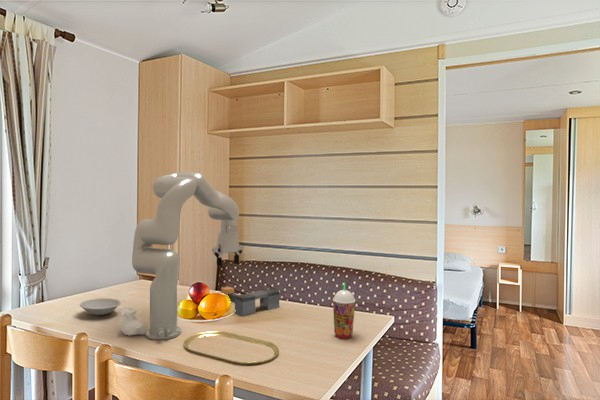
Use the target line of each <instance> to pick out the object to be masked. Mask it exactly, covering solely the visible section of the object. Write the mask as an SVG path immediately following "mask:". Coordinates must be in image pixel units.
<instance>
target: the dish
mask: <svg viewBox="0 0 600 400" xmlns="http://www.w3.org/2000/svg"><path fill="white" fill-rule="evenodd" d="M121 303H122V302H121V301H120V300H119V299H116V298H107V297H105V298H102V297H100V298H92V299H87V300H84V301H82V302H80V303H79V307H80V308H81V309H83V310H84V311H86V312H87V313H88V314H91V315H98V316H103V315H107V314H110V313H112V312H113V311H115V309H117V307H119V306H120V305H121Z"/></svg>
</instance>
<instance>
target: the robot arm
mask: <svg viewBox="0 0 600 400" xmlns="http://www.w3.org/2000/svg"><path fill="white" fill-rule="evenodd" d="M152 192H153V194H154V195H155V196H156V197H157V198H158V199H160V200H159V202H158V204H157V208H156V215H155V218H146V219H145V218H144V219H143V220H140V221H139V223H137V226H136V228H135V230H134V237H133V243H132V244H133V245H132V255H131V265H132V268H133V270H134V271H135V272H137V273H140V274H147V275H155V276H154V278H153V280H152V281H151V283H150V287H149V328H148V329H147V330H145V333H144V335H145V337H146V338H147V339H148V340H149V339H150V340H155V341H156V340H158V341H160V340H161V341H162V340H164V341H165V340H170V339H172V338H176V337H178V336H180V335H181V334H182V328H181V327H180V326H178V311H177V310H178V275H179V270H180V263H181V258H180V255H179V254H178V253H177V252H176V251H175V250H173V249H170V248H169V249H168V248H160V247H158V248H155V247H153V246H154V245H156V246H157V245H159V246H171V245H174V244H175V243H176V242H177V241H178V238H179V232H180V231H179V229H180V222H181V221H180V220H181V214H182V213H181V212H182V209H183V206H184V204H185V203H186V201H188V200H189V199H191V197H192V196H193V197H194V198H195V199H196V200H197V201H198V202H199V204H201V205H203V206H205V207H208V210H207V214H208V216H209V218H210V219H212V220H214V221H215V220H216V221H220V232H219V233H218V237H217V242H216V245H215V246H214V247H212V248H211V251H212V252H213V253H212V254H213V255H214V256H215V257H216V265H217V266H218V267H221V266H223V259H222V256H223V255H224V254H232V253H233V254H234V256H233V257H234V258H233V264H236V265H239V263H240V256H241V254H242V253H243V250H244V248H245V247H244V246H243V245H241V244H240V243H239V242H240V241H239V235H238V234H239V233H238V231H237V230H239V227H238V226H237V222H238V218H239V216H240V209H239V205H238V204H237V203H236V202H235V200H234V199H233V198H232V197H230V196H228V195H226V194H224V193H222V192H220V191H218V190H216V189H215V188H214V187H213V185H212V184H211V183H210V182H209V181H208V180H207V179H206V177H205V176H204V175H203V174H202V173H200V172H196V171H179V172H174V173H170V174H167V175H166V174H165V175H162V176H159V177H157V178H156V179H155V180H154V182H153V184H152Z"/></svg>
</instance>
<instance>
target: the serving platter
mask: <svg viewBox="0 0 600 400" xmlns="http://www.w3.org/2000/svg"><path fill="white" fill-rule="evenodd" d="M204 336H206V337H217V336H218V337H226V338H229V339H230V338H231V339H235V340H239V341H242V342H248V343H252V344H256V345H260V346H265V347H268V348H270V349H271V350H272V351H273V355H272V357H270V358H268V359H263V360H259V361H250V362H249V361H248V362H247V361H237V360H233V359H229V358H225V357H221V356H217V355H214V354H209V353H206V352H203V351H198V350H194V349H191V348H190V347H189V346H190V344H191V342H193V341H195V340H198V339H200V338H201V339H202V338H204ZM197 338H198V339H197ZM183 345H184V346H183V347H185V349H186V350H188V352H191V353H195V354H197V355H201V356H205V357H208V358H213V359H217V360H221V361H225V362H228V363H232V364H237V365H241V366H243V365H244V366H254V365H261V364H264V363H267V362H270V361H271V360H274V359H275V358H276V357H277V355H278V354H279V353H280V352H279V351H280V350H279V347H278V345H277V344H275V343H273V342H270V341H268V340H263V339H259V338H254V337H251V336H250V337H249V336H246V335H241V334H236V333H232V332H227V331H221V330H219V331H217V330H215V331H205V332H204V331H203V332H199V333H195V334H193V335H190V336H188V337H187V338H186V339H185V340H184V343H183ZM188 345H189V346H188ZM189 348H190V349H189Z"/></svg>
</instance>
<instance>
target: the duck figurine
mask: <svg viewBox="0 0 600 400" xmlns="http://www.w3.org/2000/svg"><path fill="white" fill-rule="evenodd" d="M137 312H138V311H137V310H135V309H132V307H129V306H127V307H124V308H123V309H122V310H121V317H122V318H121V321H120V322H119V324H120V327H121V328H120V329H121V331H122V334H124V335H126V336H127V335H128V336H129V337H131V336H136V335H137V336H139V335H145V332H146V325H145V323H144V322H143V321H142V320H140V319H139V318H137V317H136V316H135V315H136V314H137ZM138 334H139V335H138ZM128 336H127V337H128Z"/></svg>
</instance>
